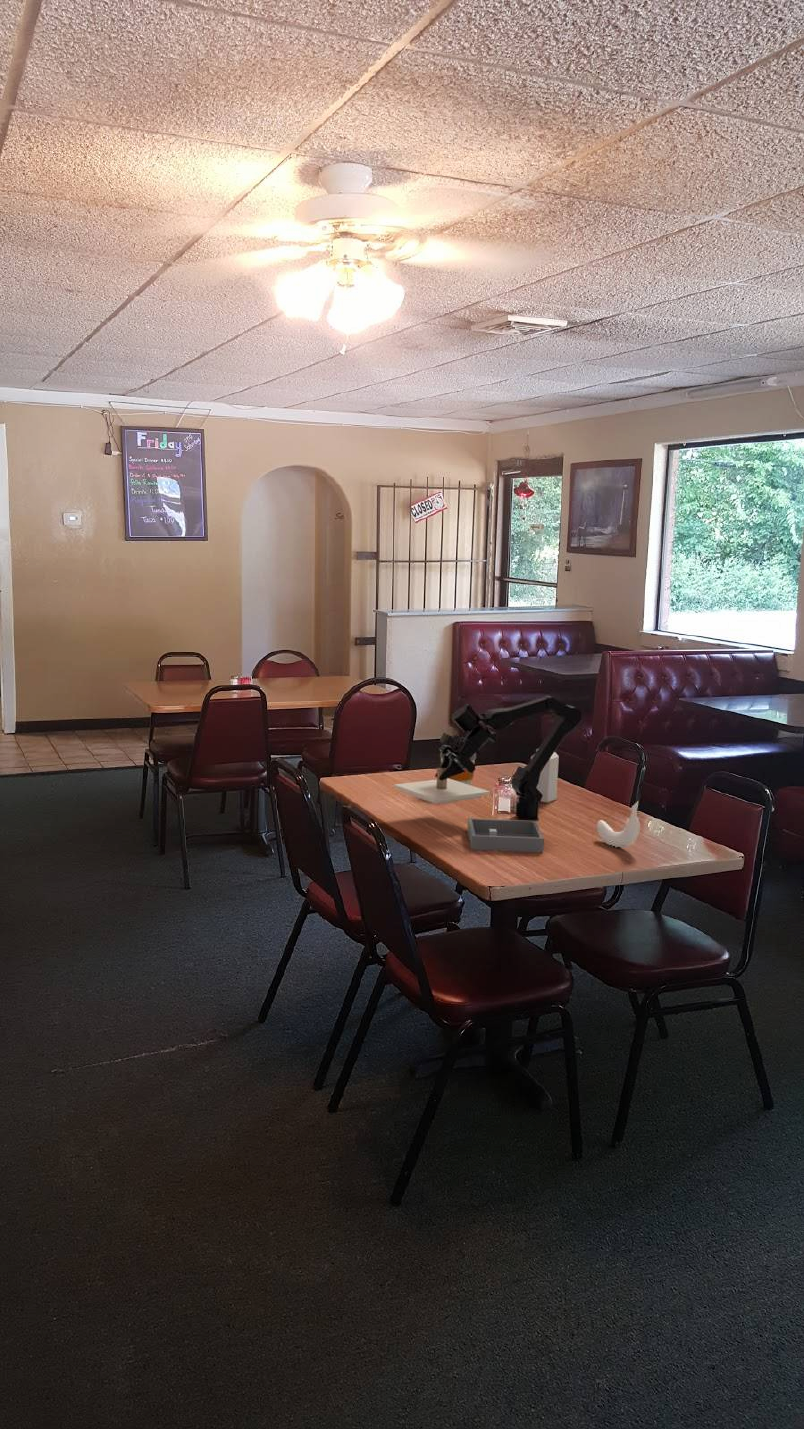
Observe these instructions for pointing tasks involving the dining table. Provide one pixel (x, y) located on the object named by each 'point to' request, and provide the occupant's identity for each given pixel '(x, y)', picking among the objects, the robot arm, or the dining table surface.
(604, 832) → the white shrimp
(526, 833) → the tray
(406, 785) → the tub lid
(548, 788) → the milk carton
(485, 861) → the dining table surface
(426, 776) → the dining table surface
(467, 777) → the reusable coffee cup
